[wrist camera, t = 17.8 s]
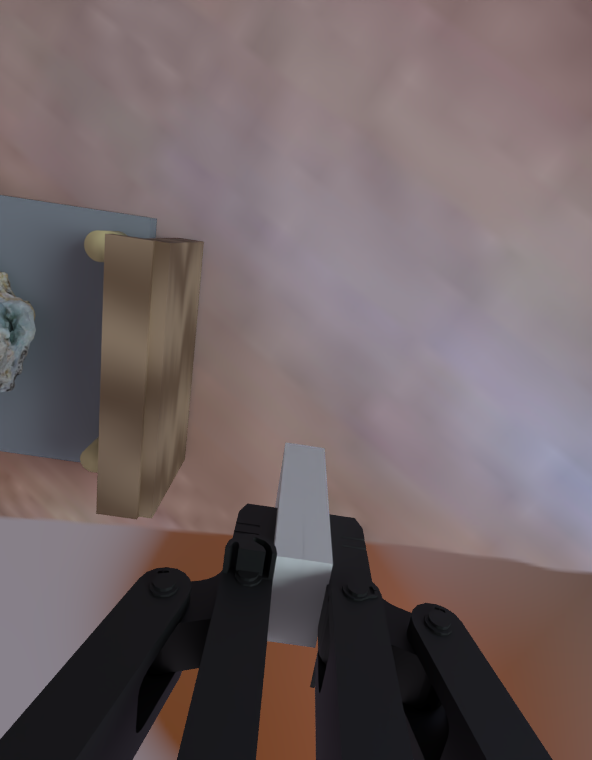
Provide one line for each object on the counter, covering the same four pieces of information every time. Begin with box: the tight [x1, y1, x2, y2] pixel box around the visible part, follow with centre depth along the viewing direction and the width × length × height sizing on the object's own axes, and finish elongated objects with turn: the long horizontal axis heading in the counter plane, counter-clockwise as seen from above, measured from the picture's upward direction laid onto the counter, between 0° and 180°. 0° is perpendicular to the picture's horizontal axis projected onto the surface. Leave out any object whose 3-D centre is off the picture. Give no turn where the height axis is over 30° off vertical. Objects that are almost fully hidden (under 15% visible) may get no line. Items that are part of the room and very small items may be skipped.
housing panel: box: [96, 234, 204, 519], centre depth 30 cm, size 16×3×8 cm, turn 172°
